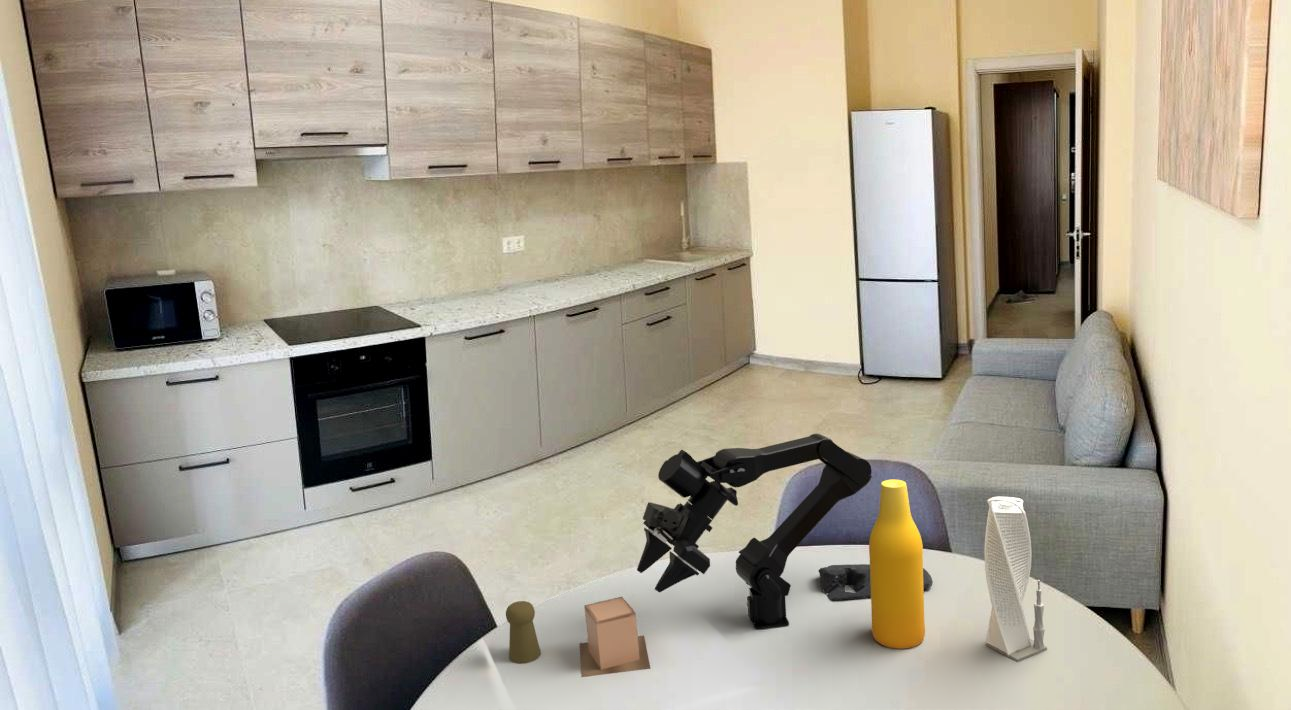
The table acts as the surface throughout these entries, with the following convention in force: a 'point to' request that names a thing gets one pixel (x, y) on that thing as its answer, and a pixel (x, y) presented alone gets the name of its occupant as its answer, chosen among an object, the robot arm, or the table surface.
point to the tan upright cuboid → (612, 632)
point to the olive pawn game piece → (522, 633)
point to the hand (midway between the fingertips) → (647, 581)
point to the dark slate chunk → (852, 581)
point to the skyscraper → (1010, 580)
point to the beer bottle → (896, 571)
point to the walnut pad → (592, 668)
